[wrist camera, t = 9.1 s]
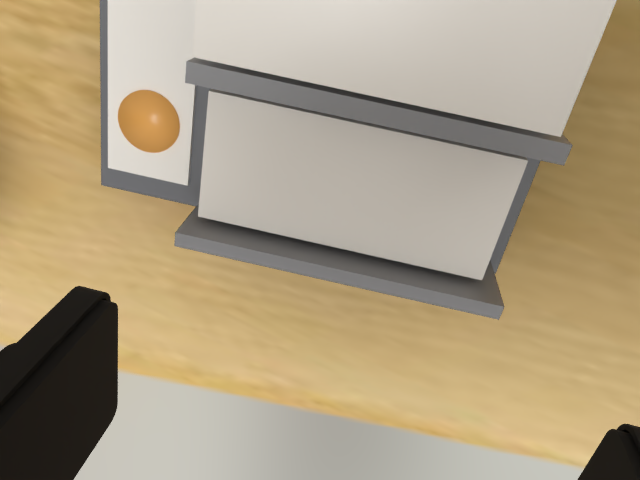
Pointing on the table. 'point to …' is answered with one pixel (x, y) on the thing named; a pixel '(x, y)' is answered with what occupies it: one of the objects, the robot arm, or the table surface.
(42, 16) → the table surface
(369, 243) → the button
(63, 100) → the table surface
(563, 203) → the table surface
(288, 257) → the switch console
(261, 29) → the white rectangular block
